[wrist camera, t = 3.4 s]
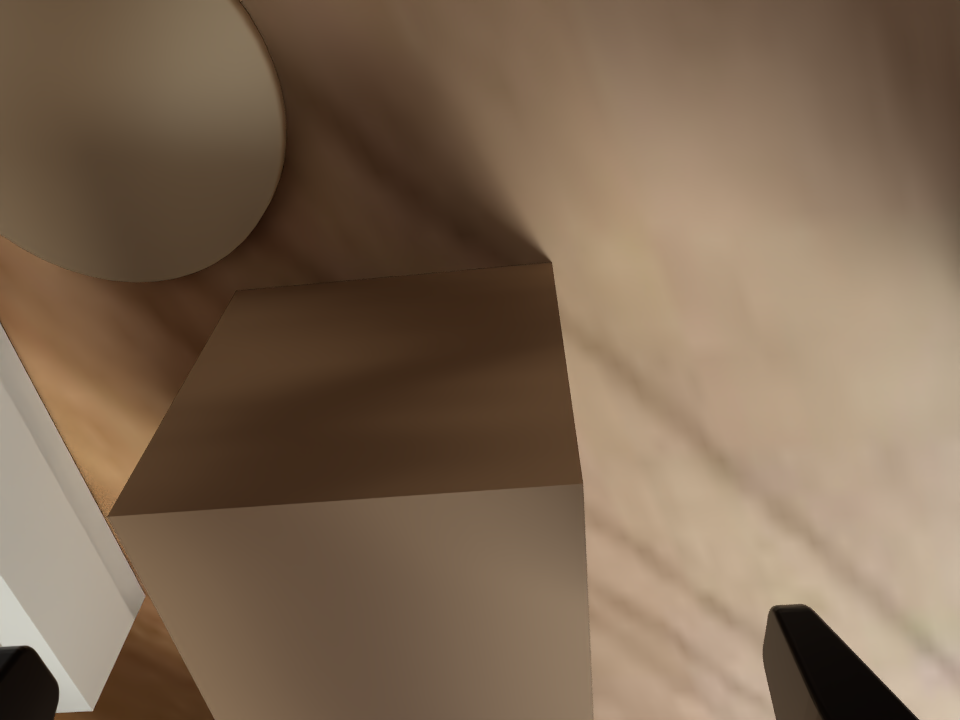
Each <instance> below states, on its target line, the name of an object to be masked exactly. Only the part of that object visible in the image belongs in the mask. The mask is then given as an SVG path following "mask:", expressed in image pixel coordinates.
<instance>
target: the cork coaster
mask: <svg viewBox="0 0 960 720" xmlns="http://www.w3.org/2000/svg"><path fill="white" fill-rule="evenodd" d="M286 139H287V131H286V112H285V107H284V101H283V96H282V90H281V86H280V83H279V80H278V76H277V73H276V70H275V67H274V63H273V61H272V59H271V57H270V54H269V52H268V50H267V47H266V45H265V43H264V41H263V38H262V37H261V35H260V33H259V31H258V30H257V28H256V26H255V25H254V23H253V21H252V19H251V18H250V16H249V14H248V13H247V11H246V10H245V9H244V7H243V6H242V5H241V3H240V2H239V1H238V0H0V234H1V235H2V236H4V237H5V238H7V239H8V240H10V241H11V242H13V243H14V244H16V245H17V246H19V247H21V248H22V249H24V250H26V251H28V252H30V253H32V254H34V255H35V256H37V257H39V258H41V259H43V260H45V261H48V262H50V263H52V264H55V265H57V266H60V267H62V268H65V269H67V270H71V271H74V272H77V273H80V274H84V275H87V276H91V277H96V278H101V279H106V280H112V281H124V282H156V281H162V280H169V279H175V278H179V277H182V276H186V275H189V274H192V273H195V272H198V271H200V270H202V269H204V268H206V267H209V266H211V265H213V264H214V263H216V262H218V261H219V260H221V259H222V258H224V257H225V256H227V255H228V254H230V253H231V252H232V251H233V250H234V249H235V248H236V247H238V246H239V245H240V244H241V243H242V242H243V241H244V240H245V239H246V238H247V236H248V235H249V234H250V233H251V231H252V230H253V229H254V228H255V227H256V225H257V223H258V222H259V220H260V219H261V217H262V215H263V214H264V212H265V210H266V208H267V207H268V205H269V203H270V202H271V200H272V198H273V196H274V193H275V191H276V188H277V186H278V183H279V181H280V177H281V173H282V169H283V164H284V160H285V151H286Z"/></svg>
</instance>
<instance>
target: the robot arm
mask: <svg viewBox="0 0 960 720" xmlns="http://www.w3.org/2000/svg"><path fill="white" fill-rule="evenodd" d="M763 662H764V668H765V673H766V677H767V682H768V686H769V690H770V695H771V699H772V703H773V708H774V712H775V716H776V720H919V719H918V718H917V717H916V716H915V715H914V714H913V713H912V712H911V711H910V710H909V709H908V708H907V707H906V706H905V705H904V704H903V703H902V702H901V700H900V699H899V698H898V697H897V696H896V695H895V694H894V693H893V692H892V691H891V690H890V689H889V688H888V687H887V686H886V685H885V684H884V683H883V682H882V681H881V680H880V679H879V678H878V677H877V676H876V675H875V674H874V672H873V671H872V670H871V669H870V668H869V667H868V666H867V665H866V664H865V663H864V662H863V661H862V660H861V659H860V658H859V657H858V656H857V655H856V654H855V653H854V652H853V651H852V650H851V649H850V648H849V647H848V646H847V645H846V643H845V642H844V641H843V640H842V639H841V638H840V637H839V636H838V635H837V634H836V633H835V632H834V631H833V630H832V629H831V628H830V627H829V626H828V625H827V624H826V623H825V622H824V621H823V620H822V619H821V618H820V617H819V616H818V614H817V613H816V612H815V611H814V610H813V609H811V608H810V607H808V606H806V605H803V604H793V605H776V606H773V607H772V608H771V609H770V611H769V614H768V619H767V626H766V632H765V638H764V644H763ZM58 702H59V686H58V682H57V681H56V679H55V677H54V676H53V675H52V673H51V672H50V670H49V669H48V667H47V666H46V665H45V663H44V662H43V660H42V659H41V657H40V656H39V655H38V653H37V652H36V651H35V650H34V649H33V648H32V647H30V646H26V645H23V646H4V647H0V720H54V717H55V713H56V710H57V706H58Z"/></svg>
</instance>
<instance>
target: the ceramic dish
mask: <svg viewBox="0 0 960 720" xmlns="http://www.w3.org/2000/svg"><path fill="white" fill-rule="evenodd" d="M144 598H145V594H144V592H143V590H142V588H141V587H140V585H139V583H138V581H137V579H136V577H135V575H134V573H133V572H132V570H131V568H130V566H129V564H128V562H127V560H126V558H125V557H124V555H123V553H122V551H121V549H120V547H119V545H118V543H117V541H116V540H115V538H114V536H113V534H112V532H111V530H110V528H109V526H108V525H107V523H106V521H105V519H104V517H103V515H102V513H101V511H100V510H99V508H98V506H97V504H96V502H95V500H94V498H93V496H92V495H91V493H90V491H89V489H88V487H87V485H86V483H85V481H84V480H83V478H82V476H81V474H80V472H79V470H78V468H77V466H76V464H75V463H74V461H73V459H72V457H71V455H70V453H69V451H68V449H67V448H66V446H65V444H64V442H63V440H62V438H61V436H60V434H59V433H58V431H57V429H56V427H55V425H54V423H53V421H52V419H51V418H50V416H49V414H48V412H47V410H46V408H45V406H44V404H43V403H42V401H41V399H40V397H39V395H38V393H37V391H36V389H35V387H34V386H33V384H32V382H31V380H30V378H29V376H28V374H27V372H26V371H25V369H24V367H23V365H22V363H21V361H20V359H19V357H18V356H17V354H16V352H15V350H14V348H13V346H12V344H11V342H10V341H9V339H8V337H7V335H6V333H5V331H4V329H3V327H2V326H1V324H0V647H4V646H23V645H26V646H30V647H32V648H33V649H34V650H35V651H36V652H37V653H38V655H39V656H40V657H41V659H42V660H43V662H44V663H45V665H46V666H47V667H48V669H49V670H50V672H51V673H52V675H53V676H54V677H55V679H56V681H57V682H58V686H59V702H58V706H57V710H56V713H64V712H84V711H93V710H94V707H95V705H96V703H97V701H98V699H99V697H100V694H101V692H102V690H103V688H104V686H105V683H106V681H107V679H108V677H109V675H110V673H111V670H112V668H113V666H114V664H115V662H116V659H117V657H118V655H119V653H120V651H121V648H122V646H123V644H124V642H125V640H126V638H127V635H128V633H129V631H130V629H131V627H132V624H133V622H134V620H135V618H136V616H137V614H138V611H139V609H140V607H141V605H142V603H143V600H144Z"/></svg>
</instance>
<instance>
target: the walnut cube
mask: <svg viewBox="0 0 960 720" xmlns="http://www.w3.org/2000/svg"><path fill="white" fill-rule="evenodd" d="M107 517H108V519H109V521H110V523H111V525H112V527H113V529H114V531H115V533H116V534H117V536H118V538H119V540H120V542H121V544H122V546H123V548H124V549H125V551H126V553H127V555H128V557H129V559H130V561H131V563H132V565H133V566H134V568H135V570H136V572H137V574H138V576H139V578H140V580H141V582H142V583H143V585H144V587H145V589H146V591H147V593H148V595H149V597H150V598H151V600H152V602H153V604H154V606H155V608H156V610H157V612H158V614H159V615H160V617H161V619H162V621H163V623H164V625H165V627H166V629H167V631H168V632H169V634H170V636H171V638H172V640H173V642H174V644H175V646H176V648H177V649H178V651H179V653H180V655H181V657H182V659H183V661H184V663H185V664H186V666H187V668H188V670H189V672H190V674H191V676H192V678H193V680H194V681H195V683H196V685H197V687H198V689H199V691H200V693H201V695H202V697H203V698H204V700H205V702H206V704H207V706H208V708H209V710H210V712H211V713H212V715H213V717H214V719H215V720H594V717H593V694H592V672H591V650H590V627H589V605H588V582H587V560H586V538H585V515H584V493H583V480H582V472H581V465H580V458H579V451H578V444H577V437H576V430H575V423H574V416H573V409H572V402H571V395H570V387H569V380H568V373H567V366H566V359H565V352H564V345H563V338H562V331H561V324H560V317H559V310H558V302H557V295H556V288H555V281H554V274H553V267H552V262H549V263H538V264H527V265H516V266H505V267H494V268H483V269H472V270H461V271H450V272H439V273H428V274H417V275H406V276H395V277H384V278H373V279H362V280H351V281H340V282H329V283H318V284H307V285H296V286H285V287H274V288H263V289H252V290H241V291H236V292H235V294H234V296H233V298H232V299H231V301H230V303H229V305H228V306H227V308H226V310H225V312H224V313H223V315H222V317H221V319H220V320H219V322H218V324H217V326H216V327H215V329H214V331H213V333H212V334H211V336H210V338H209V340H208V341H207V343H206V345H205V347H204V348H203V350H202V352H201V354H200V355H199V357H198V359H197V361H196V362H195V364H194V366H193V368H192V369H191V371H190V373H189V375H188V376H187V378H186V380H185V382H184V383H183V385H182V387H181V389H180V390H179V392H178V394H177V396H176V397H175V399H174V401H173V403H172V404H171V406H170V408H169V410H168V411H167V413H166V415H165V417H164V418H163V420H162V422H161V424H160V425H159V427H158V429H157V431H156V432H155V434H154V436H153V438H152V439H151V441H150V443H149V445H148V446H147V448H146V450H145V452H144V453H143V455H142V457H141V459H140V460H139V462H138V464H137V466H136V467H135V469H134V471H133V473H132V474H131V476H130V478H129V480H128V481H127V483H126V485H125V487H124V488H123V490H122V492H121V494H120V495H119V497H118V499H117V501H116V502H115V504H114V506H113V508H112V509H111V511H110V513H109V515H108V516H107Z"/></svg>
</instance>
